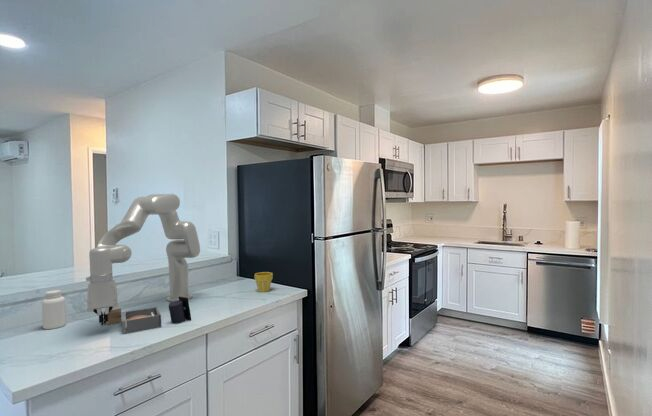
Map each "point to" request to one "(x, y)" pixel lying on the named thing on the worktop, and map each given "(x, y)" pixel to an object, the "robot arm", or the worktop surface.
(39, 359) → the worktop surface
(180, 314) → the speaker
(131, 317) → the tan domed disc
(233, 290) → the worktop surface
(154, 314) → the tray
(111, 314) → the brown wooden cube
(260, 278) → the plant pot
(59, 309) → the pill bottle
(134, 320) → the housing
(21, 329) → the worktop surface
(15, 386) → the worktop surface
